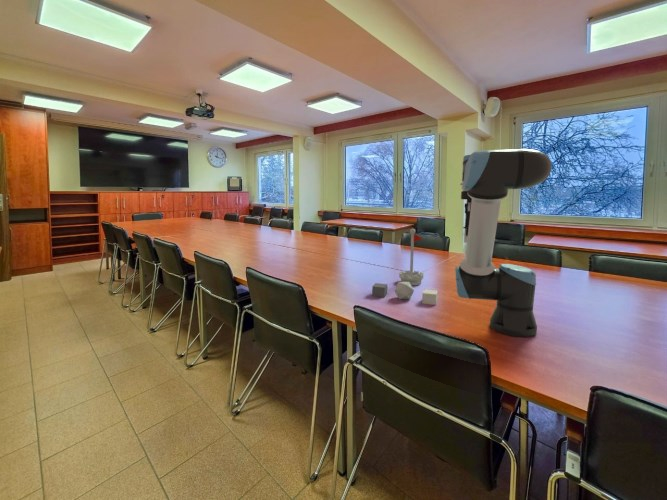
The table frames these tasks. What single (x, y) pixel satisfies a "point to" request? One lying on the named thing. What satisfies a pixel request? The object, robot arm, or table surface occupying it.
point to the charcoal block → (379, 290)
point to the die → (404, 290)
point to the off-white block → (429, 297)
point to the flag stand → (409, 275)
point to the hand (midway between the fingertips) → (467, 242)
